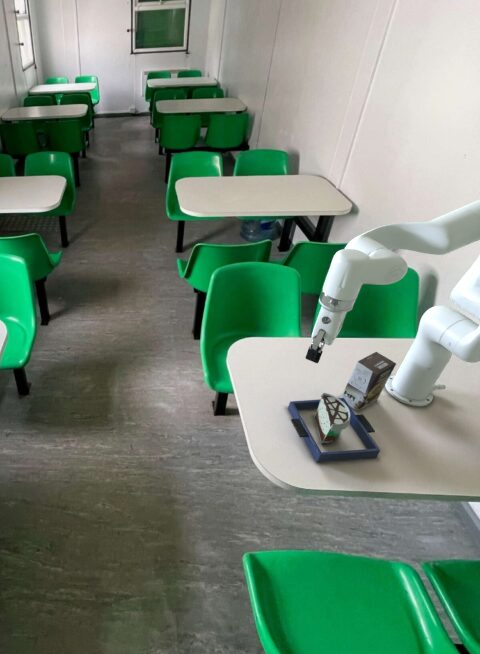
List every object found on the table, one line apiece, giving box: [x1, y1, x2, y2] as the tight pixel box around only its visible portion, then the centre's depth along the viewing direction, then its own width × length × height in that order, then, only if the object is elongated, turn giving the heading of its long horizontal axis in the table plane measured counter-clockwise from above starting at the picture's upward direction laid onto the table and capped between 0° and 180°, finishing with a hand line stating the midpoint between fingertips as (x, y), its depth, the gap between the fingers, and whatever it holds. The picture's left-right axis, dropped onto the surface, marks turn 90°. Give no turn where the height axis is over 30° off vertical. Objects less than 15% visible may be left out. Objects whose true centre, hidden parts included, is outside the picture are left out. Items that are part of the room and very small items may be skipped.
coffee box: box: [340, 351, 397, 412], centre depth 127 cm, size 9×6×16 cm
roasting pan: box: [287, 397, 382, 463], centre depth 121 cm, size 21×19×4 cm
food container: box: [314, 392, 351, 445], centre depth 119 cm, size 12×6×10 cm, turn 168°
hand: (318, 350), depth 113 cm, fingers open, 9 cm apart
